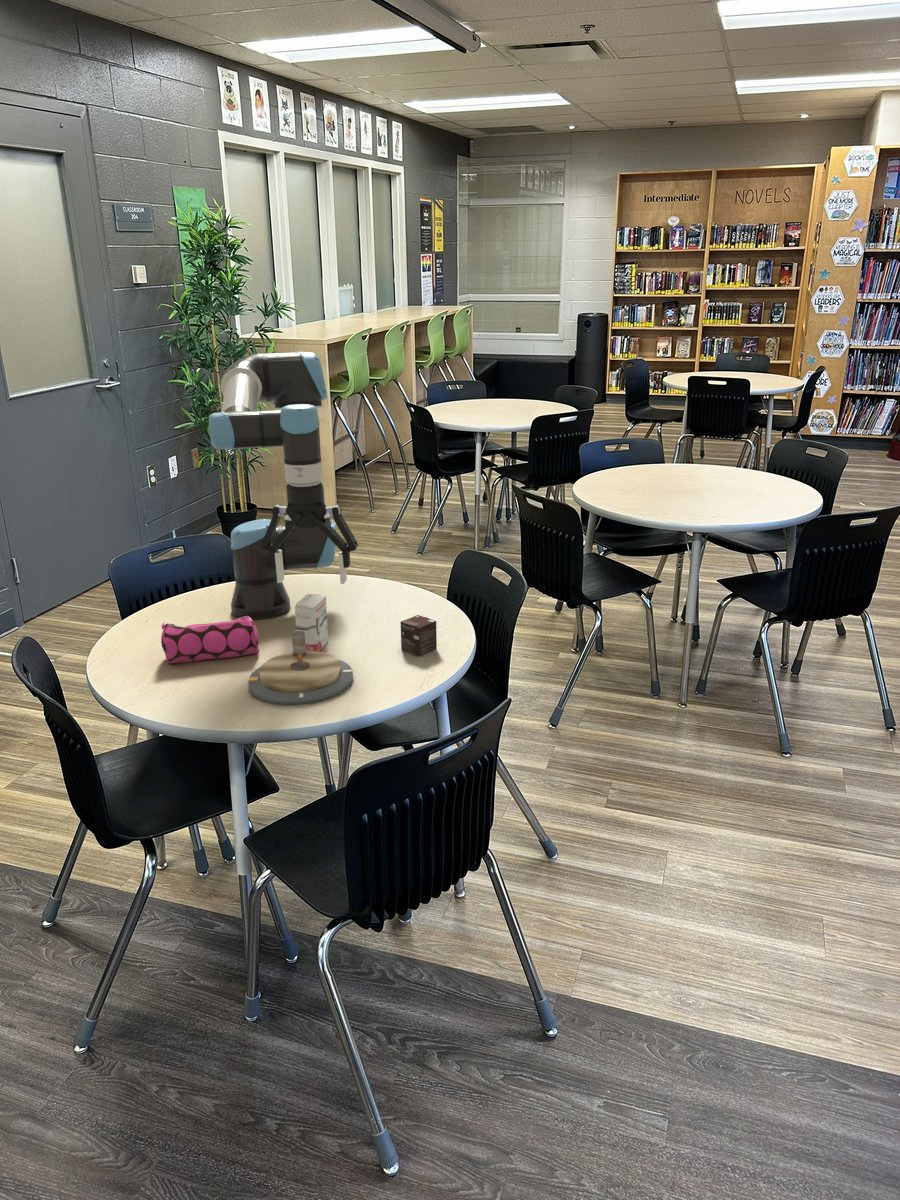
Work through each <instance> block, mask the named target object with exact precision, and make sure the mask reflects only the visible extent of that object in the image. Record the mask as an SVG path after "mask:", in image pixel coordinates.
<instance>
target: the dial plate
mask: <svg viewBox="0 0 900 1200" xmlns="http://www.w3.org/2000/svg"><path fill="white" fill-rule="evenodd" d="M337 659H338V660H339V661H340V666H341V675H340V677H339V678H338V679H337V681H335V682H334V683H332V684H331V685H328V686H326V687H324V688H321V689H317V690H313V691H308V692H299V693H286V692H278V691H274V690H271V689H268V688H266V687H265V686H263V685H262V683H261V681H260V672H259V670H260V667H261V666H259V667H257V668H255V670H254V671H253V672H251V674H250V675H249V677H248V682H247V683H248V690H249V691H248V692H249V693H250V694H251V696H252V697H254V699H257V700H259V701H261V702H264V703H268V704H272V705H279V706H304V705H310V704H316V703H320V702H324V701H327V700H329V699H333V698H336V697H338V696H340V695H341V694H342V693H345V692H346V691H347V690H348V689H349V688H350V687H351V686H352V684H353V682H354V673H353V672H354V671H353V668H352V667H351V665H349V664H348V663H347V662H345V661H343V660H341V659H339V658H337Z"/></svg>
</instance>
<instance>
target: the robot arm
mask: <svg viewBox="0 0 900 1200" xmlns="http://www.w3.org/2000/svg"><path fill="white" fill-rule="evenodd" d="M325 382H326V381H325V377H324V372H323V367H322V364H321V359H320V357H319V355H318V354H316V353H315V352H313V351H311V352H310V351H292V352H267V353H266V352H265V353H262V352H261V353H253V354H249V355H245V356H244V357H241V358H240V359H238V360H237V361H235V362H233V363H232V364H231V365H230V366H228V367H227V369H226V370H225V371H224V373H223V375H222V377H221V382H220V390H221V394H222V396H223V401H222V407H221V411H219V412H213V413H211V414H210V415H209V416H208V429H209V439H210V442H211V443H210V444H211V446H212V447H213V448H214V449H216V450H228V451H231V450H239V449H255V448H273V447H274V448H275V447H282V451H283V461H284V463H283V464H284V465H283V466H284V474H285V475H284V477H285V482H286V483H287V484H286V485H285V489H286V490H285V491H286V501H287V506H283V505H281V503H280V504H279V503H278V504H276V505H275V506H274V507H272V515H271V516H272V517H271V518H261V519H255V520H251V521H250V520H249V521H246V522H243V523H241V524H238V525H237V526H236V527H234V528H233V529H232V530H231V533H230V543H231V545H230V549H231V552H232V561H233V572H234V573H233V574H234V579H235V580H234V581H235V585H234V590H233V593H232V598H231V602H230V608H231V614H232V615H233V616H234V617H236V618H242V617H245V616H249V617H250V618H251V619H252V620H264V619H270V618H274V617H278V616H281V615H284V614H285V613H287V612H288V611H289V610H290V609H291V601H290V599H291V598H290V596H289V595H288V592H287V590H286V588H285V585H284V583H283V581H284V580H285V571H291V570H305V569H315V570H316V569H318V568H320V569H321V568H326V567H330V566H332V565H333V564H334V562H335V558H336V549H337V548H338V550H339V551H340V552H339V553H338V564H339V568H338V569H339V578H340V579H339V581H340V585H345V583H346V582H347V580H348V579H347V576H348V575H347V568H348V569H349V567H350V566H351V552H354V551H356V550H357V548H358V547H359V543H358V541H357V540H356V537H355V536H354V534H353V532H352V530H351V529H350V527H349V525H348V524H347V522H346V520H345V518H344V516H343V515H342V510H341V505H340V504H335V505H334V506H327V505H326V503H325V491H324V483H323V482H322V481H323V480H324V475H323V474H324V473H323V463H322V454H321V453H322V452H321V451H322V450H321V434H320V418H319V413H318V412H320V410H321V409H322V408H323V401H325V400H327V398H328V394H327V393H328V392H327V387H326V383H325ZM262 402H263V403H266V402H267V403H270V402H272V403H274V409H272V410H271V409H269V410H258V403H262ZM285 513H286V515H285ZM284 515H285V516H284ZM283 516H284V524H279V522H280V520H281V518H282V517H283ZM331 518H333V520H334V521H333V520H331ZM337 528H338V530H339V531H340V533H341V535H342V536H343V537H342V536H341V535H340V534H339V532H337ZM336 547H337V548H336Z"/></svg>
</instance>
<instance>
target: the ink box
mask: <svg viewBox="0 0 900 1200" xmlns="http://www.w3.org/2000/svg"><path fill="white" fill-rule="evenodd" d="M327 608H328V607H327V596H326V595H322V594H311V593H307V594H305V595H304V596H303V597H302V598H301V599H300V600H298V602H297V603H295V605H294V613H295V631H304V632H305V644H306V651H316V652H321V650H322V648H324V646H325V645H326V644H327V643H328V642H329V636H328V635H329V633H328V632H329V631H328V615H327V614H328V613H327V612H328V611H327V610H328V609H327Z"/></svg>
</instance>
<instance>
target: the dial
mask: <svg viewBox="0 0 900 1200" xmlns="http://www.w3.org/2000/svg"><path fill="white" fill-rule="evenodd" d="M291 641H292V643H291V644H292V652H288V653H287V652H286V653H283V654H279V655H277V656H276V655H275V656H274V657H271V658H270V659H268V660H266V661H265V662H263V663H262V664H261V665H260V666H259V667H260V670H259V672H260V681H261V683H262V685H263V686H265V687H266V688H268V689H271V690H274V691H278V692H286V693H299V692H308V691H313V690H317V689H321V688H324V687H326V686H328V685H331V684H332V683H334V682H335V681H337V679H338V678H339V677H340V675H341V666H340V661H339V660H340V659H339V658H338V657H336V656H335V655H333V654H330V653H326V652H322V651H319V652H316V651H306V644H305V632H304V631H296V630H294V631H292V632H291ZM338 659H339V660H338Z"/></svg>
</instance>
